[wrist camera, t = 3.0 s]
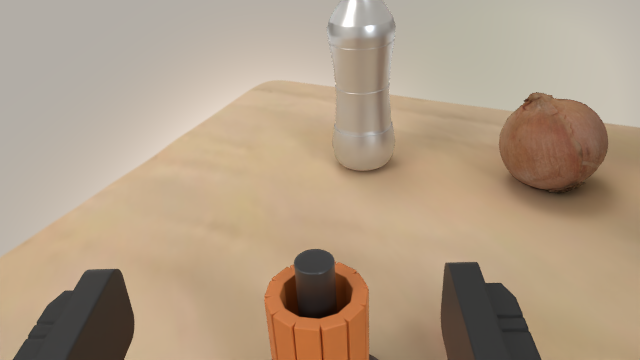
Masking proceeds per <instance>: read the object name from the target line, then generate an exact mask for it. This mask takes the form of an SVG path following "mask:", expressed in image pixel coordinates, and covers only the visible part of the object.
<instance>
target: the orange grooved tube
mask: <svg viewBox="0 0 640 360" xmlns="http://www.w3.org/2000/svg"><path fill="white" fill-rule="evenodd" d="M335 280H336V302H337V314H334V315H331V316H327V317H324V318H320V319H317V318H306V317H299V313H298V302H297V291H296V280H295V269H294V265H291V266H290V268H289V267H286V268H285V269H284V270H282V271H281V272H280V273H278V274H277V275H276V276H274V277H273V278H272V281H270V283H269V286H268V288H267V291H266V293H265V296H264V297H265V300H264V301H265V308H266V316H267V324H268V331H269V339H270V347H271V354H272V360H369V290H368V286H367V285H366V283H365V282H364V280H363V279H362V277H361V276H360V274H359V273H357V272H356V270H354V269H352V268H350V267H348V266H346V265H344V264H342V263H340V262H338V263H337V264H336V262H335Z"/></svg>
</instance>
